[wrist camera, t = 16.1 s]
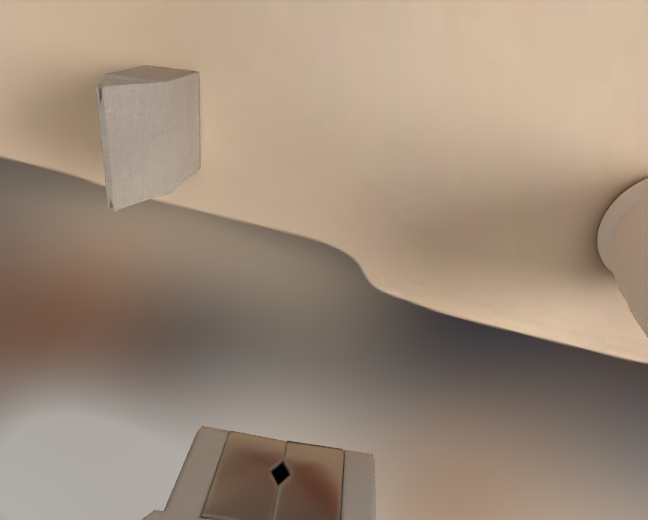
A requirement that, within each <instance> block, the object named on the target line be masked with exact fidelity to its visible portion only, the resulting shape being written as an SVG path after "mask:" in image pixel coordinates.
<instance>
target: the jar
mask: <svg viewBox="0 0 648 520" xmlns="http://www.w3.org/2000/svg"><path fill="white" fill-rule="evenodd" d="M597 245H598V251H599V254H600V257H601V259H602V261H603V263H604V264H605V266H606V267H607V268H608V269H609V270H610V271H611V272H613V273H614V276H615V279H616V282H617V284H618V287H619V289H620V291H621V293H622V295H623V296H624V298H625V300H626V302H627V304H628V306H629V308H630V310H631V312H632V314H633V316H634V317H635V319H636V321H637V322H638V324H639V326H640V327H641V329H642V330H643V331H644V333H645V334H646V335H647V337H648V178H647V179H645V180H643V181H641V182H639V183H637V184H635V185H633V186H632V187H630V188H629V189H627V190H626V191H625V192H624V193H622V194H621V195H620V196H619V197H618V198H617V199H616V200H615V201H614V202H613V203H612V205H611V206H610V207H609V209H608V210H607V212H606V213H605V215H604V217H603V219H602V221H601V224H600V227H599V230H598V237H597Z"/></svg>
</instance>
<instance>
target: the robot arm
mask: <svg viewBox="0 0 648 520" xmlns="http://www.w3.org/2000/svg"><path fill="white" fill-rule="evenodd" d="M375 494H376V491H375V458H374V456H373V454H369V453H363V452H356V451H350V450H344V451H343V449H339V448H333V447H326V446H319V445H312V444H306V443H299V442H293V441H282V440H277V439H271V438H266V437H261V436H256V435H250V434H245V433H240V432H235V431H227V430H222V429H216V428H211V427H205V426H202V427H201V428H200V429H199V431H198V432H197V433H196V436H195V438H194V440H193V443H192V445H191V447H190V450H189V452H188V454H187V457H186V459H185V462H184V464H183V466H182V469H181V471H180V474H179V476H178V478H177V481H176V483H175V485H174V488H173V490H172V493H171V495H170V497H169V500H168V502H167V504H166V507H165V509H164V511H158V510H154V511H153V512H151V513H150V514H149V515H147V516H146V517H145V518H143V519H142V520H376V495H375Z"/></svg>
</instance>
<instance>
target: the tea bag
mask: <svg viewBox="0 0 648 520" xmlns="http://www.w3.org/2000/svg"><path fill="white" fill-rule="evenodd" d="M96 95H97V104H98V114H99V124H100V134H101V144H102V153H103V163H104V173H105V183H106V192H107V202H108V210H110V208H111V207H112V206H113V208H114V211H117V210H120V209H122V208H124V207H127V206H130V205H132V204H136V203H138V202H142V201H145V200H148V199H152V198H155V197H159V196H162V195H165V194H169V193H171V192H173V191H174V190H175V189H176V188H177V187H178V186H179V185H181V184H182V183H183V182H184V181H185V180H186V179H188V178H189V177H190V176H191V175H192V174H193V173H195V172H196V171H197V170H198V169H199V168H200V109H199V72H195V71H187V70H178V69H170V68H162V67H153V66H143V67H138V68H133V69H128V70H123V71H118V72H113V73H109V74H104V78H103V82H102V83H101V84H100V85H97V86H96Z"/></svg>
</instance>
